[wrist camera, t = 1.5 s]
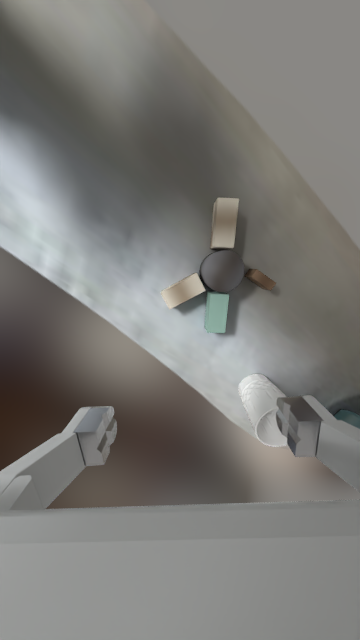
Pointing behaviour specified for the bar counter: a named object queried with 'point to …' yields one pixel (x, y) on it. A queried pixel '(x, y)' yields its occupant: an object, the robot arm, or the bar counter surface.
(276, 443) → the white cup
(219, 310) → the green rectangular block
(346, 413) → the flower pot
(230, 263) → the stool base
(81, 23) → the bar counter surface
